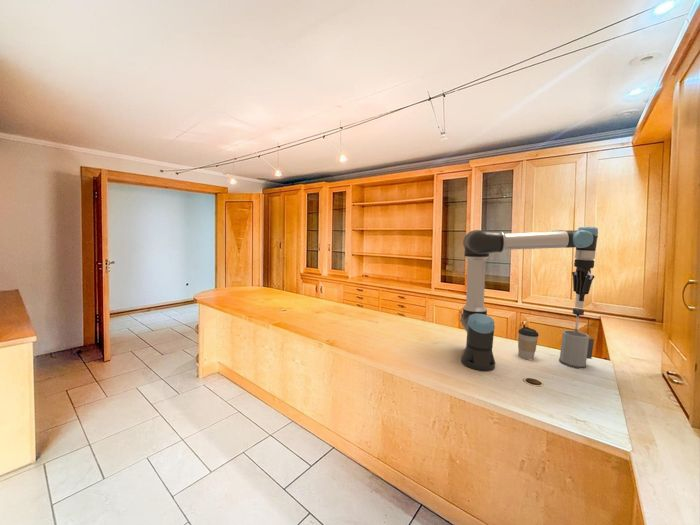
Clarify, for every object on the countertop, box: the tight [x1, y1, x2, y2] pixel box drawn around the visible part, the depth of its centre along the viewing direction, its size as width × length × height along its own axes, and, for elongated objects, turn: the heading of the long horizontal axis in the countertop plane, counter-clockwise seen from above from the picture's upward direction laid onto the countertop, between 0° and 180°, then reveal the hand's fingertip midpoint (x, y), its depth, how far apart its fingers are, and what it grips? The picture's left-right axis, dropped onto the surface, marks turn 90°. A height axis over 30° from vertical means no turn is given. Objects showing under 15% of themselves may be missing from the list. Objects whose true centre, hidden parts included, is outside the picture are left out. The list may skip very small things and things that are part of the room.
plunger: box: [572, 307, 585, 336], centre depth 146 cm, size 7×7×15 cm
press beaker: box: [558, 329, 595, 369], centre depth 147 cm, size 13×11×15 cm
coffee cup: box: [517, 326, 539, 360], centre depth 154 cm, size 9×9×15 cm
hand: (578, 307), depth 145 cm, fingers closed
